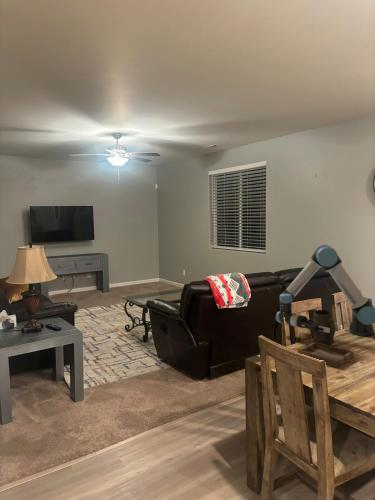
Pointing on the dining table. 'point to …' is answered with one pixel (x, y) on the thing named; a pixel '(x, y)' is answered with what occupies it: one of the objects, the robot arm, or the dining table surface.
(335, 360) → the walnut tray
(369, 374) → the dining table surface
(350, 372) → the dining table surface
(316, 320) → the beer stein
